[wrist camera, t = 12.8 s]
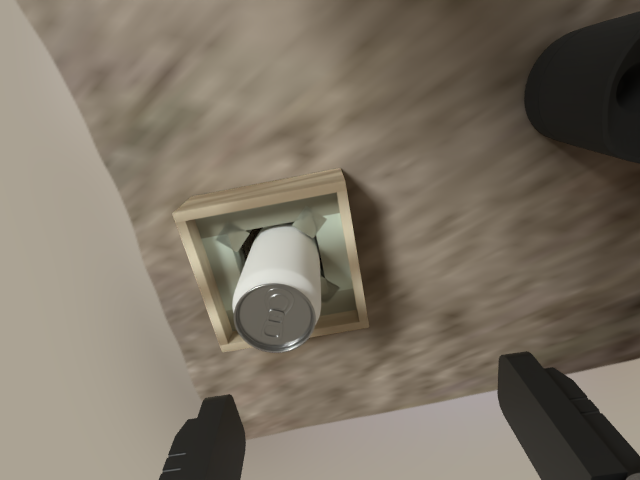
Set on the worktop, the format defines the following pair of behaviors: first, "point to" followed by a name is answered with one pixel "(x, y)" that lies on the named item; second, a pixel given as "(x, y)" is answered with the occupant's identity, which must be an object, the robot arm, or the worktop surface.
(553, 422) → the robot arm
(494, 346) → the worktop surface
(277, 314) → the can
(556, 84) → the pen holder
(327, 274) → the bore box
